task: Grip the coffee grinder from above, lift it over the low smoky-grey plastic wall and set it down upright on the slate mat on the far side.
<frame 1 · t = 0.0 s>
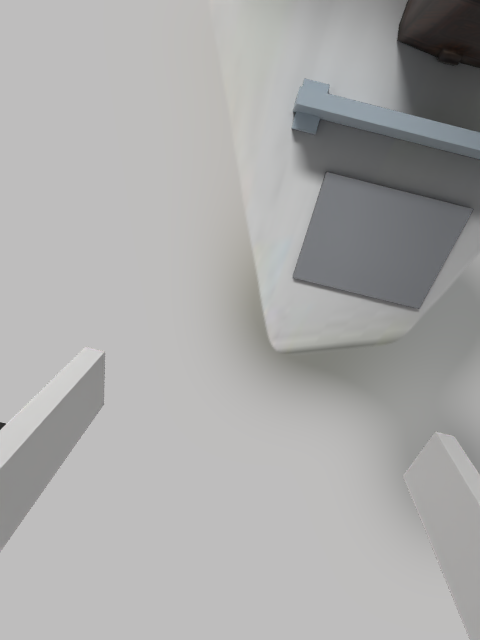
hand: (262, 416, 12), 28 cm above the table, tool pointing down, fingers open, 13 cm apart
low wall: (430, 139, 31), on the table
slate mat: (375, 244, 36), on the table
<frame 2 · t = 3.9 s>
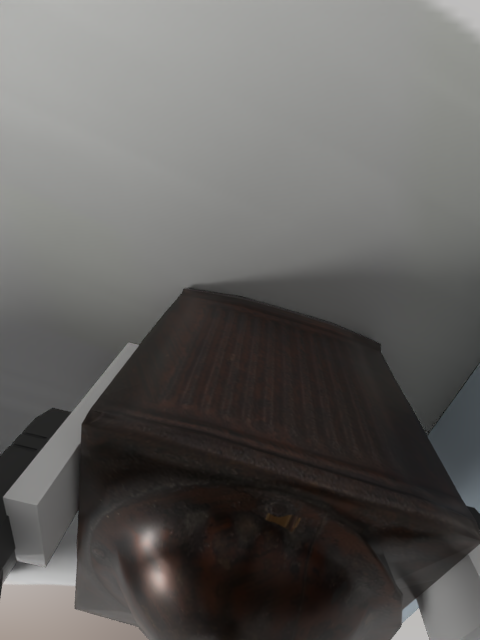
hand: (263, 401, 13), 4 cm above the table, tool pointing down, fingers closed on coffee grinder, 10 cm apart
low wall: (454, 415, 17), on the table
coffee grinder: (271, 352, 17), on the table, touching gripper
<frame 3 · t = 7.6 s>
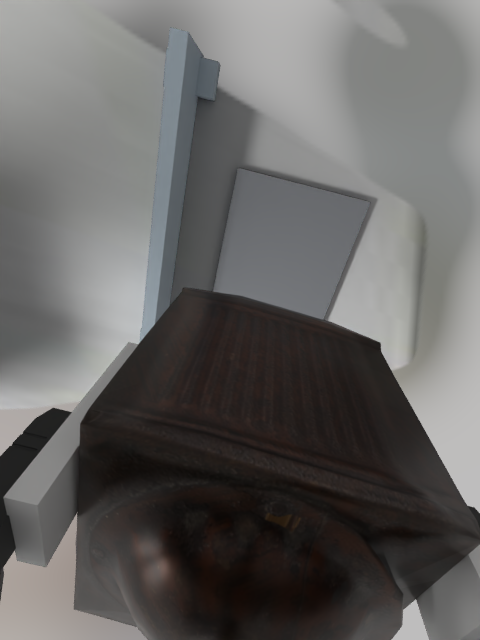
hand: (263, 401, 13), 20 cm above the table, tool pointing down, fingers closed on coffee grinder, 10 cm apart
low wall: (173, 232, 31), on the table
slate mat: (278, 268, 31), on the table
coffee grinder: (271, 352, 17), point 16 cm above the table, touching gripper
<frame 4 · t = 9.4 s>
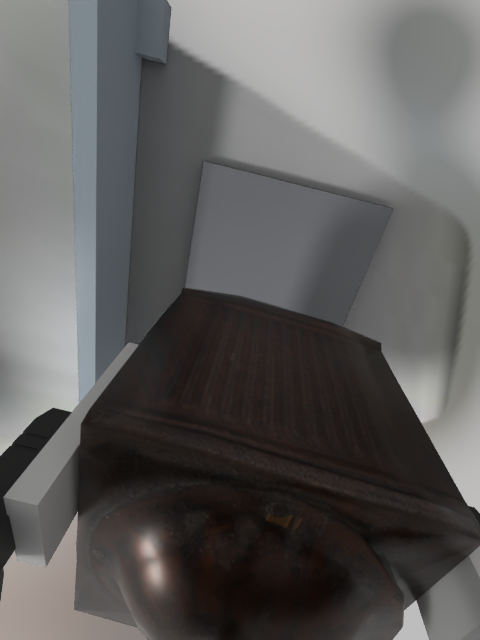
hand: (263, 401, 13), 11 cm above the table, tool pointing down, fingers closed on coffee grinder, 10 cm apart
low wall: (122, 249, 23), on the table
slate mat: (265, 298, 23), on the table
coffee grinder: (272, 352, 17), point 7 cm above the table, touching gripper
when the fingers open (6 cm above the table, at t = 11.0 s): coffee grinder drops 1 cm, resting on slate mat.
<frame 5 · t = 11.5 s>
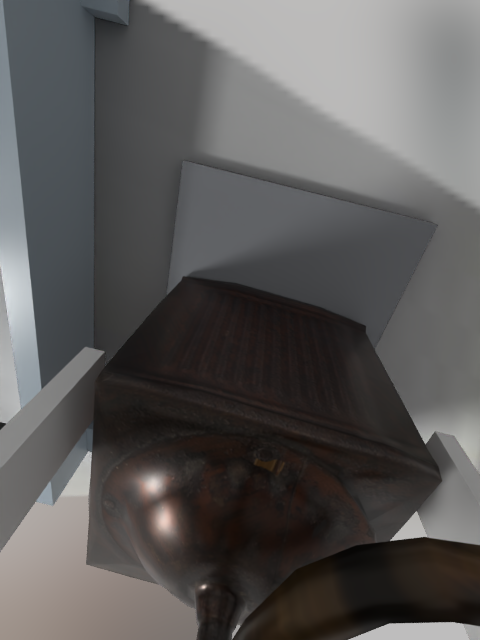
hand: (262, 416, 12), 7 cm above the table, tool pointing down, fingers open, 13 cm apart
low wall: (83, 273, 18), on the table
slate mat: (266, 334, 18), on the table
coffee grinder: (266, 336, 18), resting on slate mat
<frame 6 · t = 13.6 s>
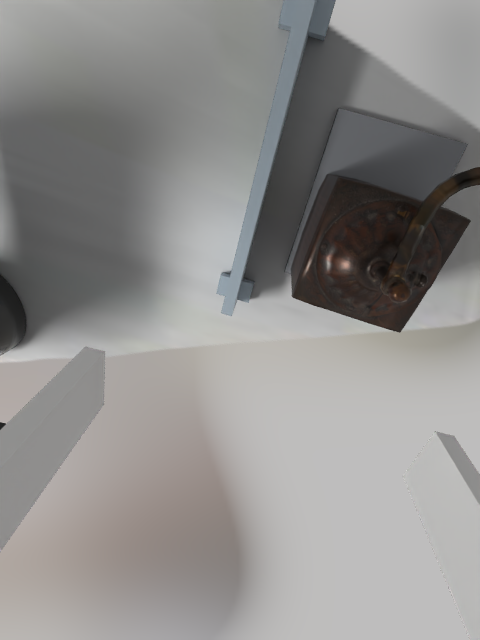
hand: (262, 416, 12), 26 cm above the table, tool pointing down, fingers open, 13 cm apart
low wall: (264, 175, 32), on the table
slate mat: (364, 214, 32), on the table
coffee grinder: (365, 214, 32), resting on slate mat
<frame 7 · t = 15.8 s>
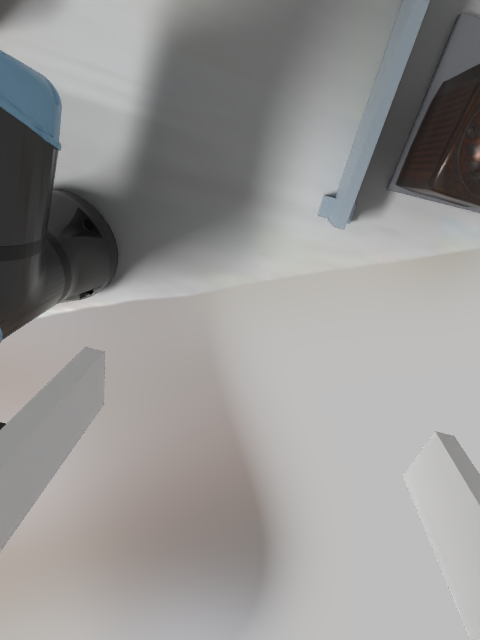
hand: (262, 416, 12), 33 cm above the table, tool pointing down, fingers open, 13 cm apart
low wall: (378, 89, 33), on the table
slate mat: (471, 125, 34), on the table
coffee grinder: (473, 124, 34), resting on slate mat
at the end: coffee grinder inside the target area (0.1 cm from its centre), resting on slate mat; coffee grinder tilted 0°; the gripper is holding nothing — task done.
